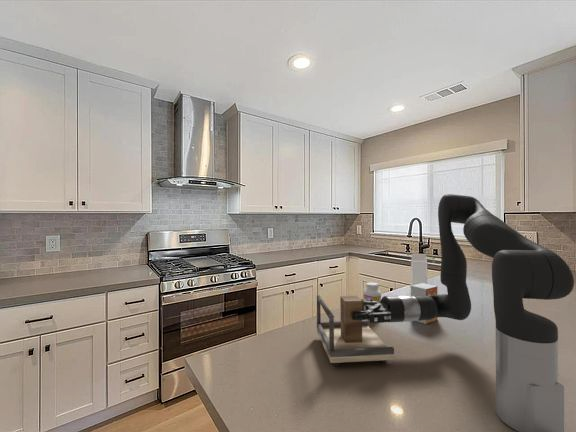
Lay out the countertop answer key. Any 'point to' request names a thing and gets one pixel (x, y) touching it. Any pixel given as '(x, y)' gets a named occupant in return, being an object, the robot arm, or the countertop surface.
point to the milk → (418, 269)
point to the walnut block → (350, 319)
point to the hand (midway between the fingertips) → (347, 310)
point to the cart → (349, 352)
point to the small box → (424, 291)
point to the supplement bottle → (372, 292)
